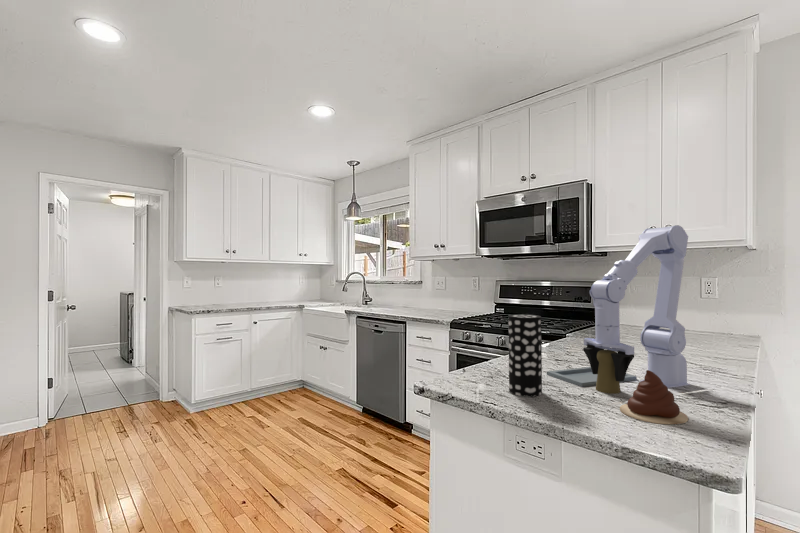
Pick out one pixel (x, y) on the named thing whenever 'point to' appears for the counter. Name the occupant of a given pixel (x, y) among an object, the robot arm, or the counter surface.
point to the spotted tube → (525, 355)
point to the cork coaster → (655, 417)
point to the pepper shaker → (606, 373)
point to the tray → (581, 376)
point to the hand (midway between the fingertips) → (607, 377)
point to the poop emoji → (653, 398)
